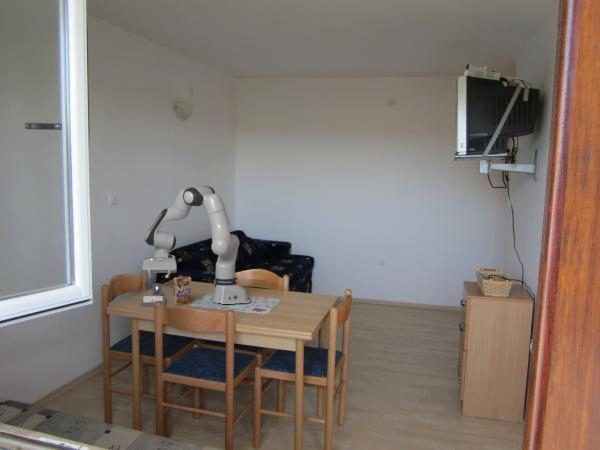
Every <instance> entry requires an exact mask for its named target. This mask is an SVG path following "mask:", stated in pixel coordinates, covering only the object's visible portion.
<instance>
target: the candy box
mask: <svg viewBox="0 0 600 450" xmlns="http://www.w3.org/2000/svg"><path fill="white" fill-rule="evenodd" d="M191 287H192V277H190V276H188V275H187V276H177V277H175V276H174V277H173V297H172V304H173V305H174V306H179V305H180V306H181V305H190V304H191V295H192V294H191V291H192V290H191Z"/></svg>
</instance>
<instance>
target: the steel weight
mask: <svg viewBox="0 0 600 450" xmlns="http://www.w3.org/2000/svg"><path fill="white" fill-rule="evenodd" d="M162 285H163V284H162V283H159V282H157V283H156V282H155V283H153V284H152V296H153V295H158V296H163V294H162V293H163V289H162V287H163V286H162Z"/></svg>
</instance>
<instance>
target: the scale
mask: <svg viewBox="0 0 600 450" xmlns="http://www.w3.org/2000/svg"><path fill="white" fill-rule="evenodd" d="M156 301H162V302H163V303H164V305H165V306H166V303H167V296H163V295H162V296H158V295H153V294H152V295H143V299H142V301H141V308H143V307H144V308H152V307H153V308H155V307H154V303H155V302H156Z"/></svg>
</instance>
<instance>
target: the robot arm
mask: <svg viewBox="0 0 600 450" xmlns="http://www.w3.org/2000/svg"><path fill="white" fill-rule="evenodd" d="M201 206H202V207H203V208H204V209H205V211H206V216H207V220H208V222H209V227H210V232H211V242H212V243H211V250H212V252H213V254H215V255H217V256H218V257H217V261H216V263H215V277H214V280H213V281H214V282H213V283H214V291H213V296H212V299H211V301H213V302H212V303H214V302H215V303H214V304H218V303H221V304H220V305H222V304H235V303H241V302H242V303H243V302H244V301H247V300H248V298H247V297H248V293H247V290H246V289H245V288H244V287H243V286H242V285H241V284H239V283H240V280H239V278H238V277H236V275H235V274H236V261H237V256H238V250H239V246H240V239H239V237H238V236H237V235H235V234H233V233H232V234H231V233H230V219H229V216H228V214H227V209H226V206H225V204H224V201H223V199H222V197H221V195H219V194H218V193H216V191H215V189H214V188H213V187H212V186H208V185H207V186H206V185H204V186H201V185H200V186H199V185H198V186H192V187H187V188H182V189H180V190H179V191H178V193H177V195H176V196H175V198H174V200H173V201H172V204H171V205H170V206H168V207H167V208H163V210H161V212H160V213H159V215H158V216H157V218H156V219H155V221H154V223H153V224H152V225H151V227H150V228H149V229H148V230H147V232H146V233H145V235H144V241H145V243H146V244H147V245H148V246H153V247H154V252H153V257H152V258H145V259H143V260H142V267H141V268H142V269H141V271H142V272H143V273H147V274H148V278H149V279H153V274H152V273H156V274H157V273H158V274H159V273H161V274H162V273H164V274H165V273H167V274H165V279H169V276H170V275H171V273H172V274H174V273H177V269H178V266H177V261H176V256H175V255H173V254H169V252H170V251H172V250H174V249H175V247H176V243H177V238H176V236H175V234H173V233H169V232H166V231H165V232H164V231H161V228H162V226H163V224H164V223H165V222H168V221H180V220H184V219H186V217H188V216H189V214H190V211H191V210H192V207H201Z"/></svg>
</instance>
